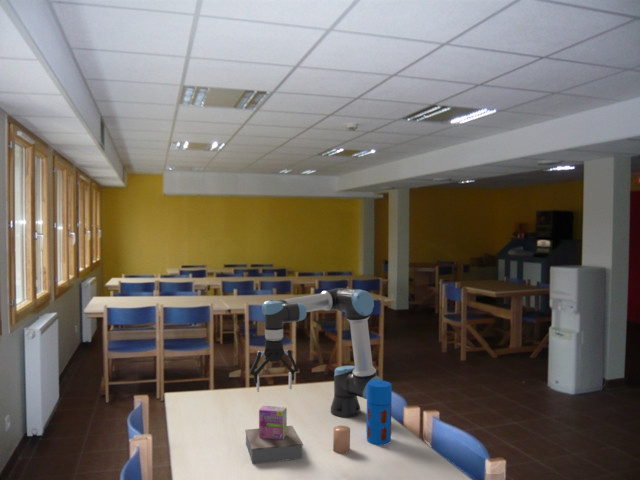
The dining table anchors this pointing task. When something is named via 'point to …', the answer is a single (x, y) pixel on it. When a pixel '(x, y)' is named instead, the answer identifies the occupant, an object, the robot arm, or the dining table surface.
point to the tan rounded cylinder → (341, 439)
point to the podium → (273, 446)
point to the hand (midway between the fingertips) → (274, 389)
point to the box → (272, 422)
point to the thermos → (379, 412)
